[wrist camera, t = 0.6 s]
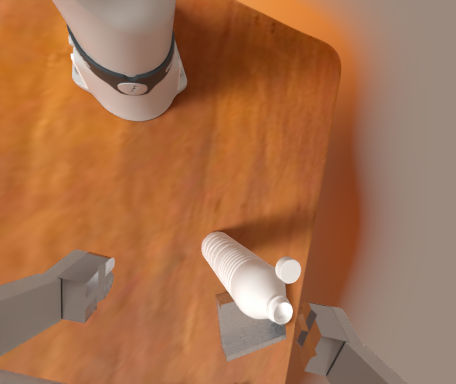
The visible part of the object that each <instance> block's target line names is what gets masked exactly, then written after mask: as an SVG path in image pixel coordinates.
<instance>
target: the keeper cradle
mask: <svg viewBox="0 0 456 384" xmlns="http://www.w3.org/2000/svg"><path fill="white" fill-rule="evenodd" d="M215 298H216V306H217V315H218V324H219V332H220V341H221V348H222V350H223V353H224V355H225V358H226V360H227V362H228V361H230V360H233V359H236V358H238V357H241V356H243V355H246V354H248V353H251V352H254V351H256V350H259V349H261V348H264V347H266V346H269V345H272V344H274V343H277V342H279V341H282V340H284V339H286V329H285V324H277V323H276V322H273V321H271V320H270V319H269V318H268V319H255V318H251V317H249V316H247V315H246V314H244V313H243V312H242V311H241V310H240V309H239V307H238V306H237V304H236V303H235V301H234V299H233V298H232V296H231V295H230V294H229V292H225V293H222V294H218V295H215Z"/></svg>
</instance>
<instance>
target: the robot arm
mask: <svg viewBox="0 0 456 384" xmlns="http://www.w3.org/2000/svg"><path fill="white" fill-rule="evenodd" d="M52 1H53V2H54V4H55V5H56V7H57V8H58V10H59V11H60V13H61V15H62V16H63V18H64V20H65V21H66V23H67V28H68V31H69V34H70V35H69V43H70V45H71V46H73V53H72V54H71V59H72V61H73V68H72V78H73V80H74V82H75V83H76V84H77V85H78V86H79V87H81V88H82V89H84V90H86V91H88V92H90V93H91V94H92V95H93V96H94V97H95V98H96V99H97V100H98V101H99V102H100V103H101V104H102V105H103V106H104V107H105V108H106V109H107V110H108V111H110V112H111V113H113V114H115V115H116V116H119V117H121V118H124V119H127V120H132V121H145V120H150V119H153V118H156V117H158V116H159V115H161V114H162V113H164V112H165V111H166V110H167V109H168V107H169V106H170V105H171V103H172V101H173V99H174V98H175V96H176V95H177V94H178V93H180V92H181V91H183V90H184V89H185V88H186V86H187V78H186V75H185V71H184V68H183V65H182V62H181V58H180V55H179V52H178V49H177V45H176V42H175V36H174V30H173V23H174V14H175V5H176V0H52ZM180 75H181V77H180ZM113 267H114V259H113V258H111V257H107V256H103V255H99V254H96V253H92V252H87V251H83V250H79V249H77V250H73V251H72V252H71V253H69V254H68V255H67V256H66V257H64V258H63V259H62V260H60V261H59V262H58V263H56V264H55V265H54V266H52V267H51V268H50V269H49V270H47V271H46V272H45V273H43V274H42V275H41V274H35V275H32V276H29V277H26V278H23V279H20V280H17V281H13V282H10V283H7V284H4V285H1V286H0V356H2V355H4V354H5V353H7V352H9V351H10V350H12V349H14V348H15V347H17V346H19V345H20V344H22V343H24V342H25V341H27V340H29V339H31V338H32V337H34V336H36V335H37V334H39V333H41V332H42V331H44V330H46V329H47V328H49V327H51V326H52V325H54V324H56V323H58V322H59V321H61V319H65V320H70V321H76V322H81V323H86V321H87V320H88V319H89V317H90V316H91V315H92V314H93V312H94V311H95V310H96V308H97V302H99V301H101V300H103V299H104V298H105V297H106V295H107V294H108V292H109V290H110V288H111V286H112V283H113V277H114V275H113V273H112V272H111V270H112V268H113ZM301 309H302V312H303V313H302V314H300V315H299V316H298V317H297V319H296V322H295V337H296V341H297V343H298V344H299V345H300V346H301V347H302V348H301V351H300V356H301V360H302V364H303V368H304V371H306V372H310V373H314V374H319V375H323V376H326V378H327V380H328V381H329V382H330V384H408V383H407V382H405V381H404V380H403V379H402V378H401V377H400V376H399V375H398V374H397V373H396V372H394V371H393V370H392V369H391V368H390V367H389V366H388V365H386V364H385V363H384V362H383V361H382V360H381V359H380V358H379V357H378V356H377V355H375V353H374V352H372V351H371V350H370V349H369V348H368V347H366V346H363V344H362V343H361V341H360V339H359V337H358V335H357V334H356V332H355V330H354V328H353V327H352V325H351V323H350V321H349V319H348V318H347V316H346V314H345V312H344V311H343V310H342V309H341V308H336V307H331V306H325V305H321V304H316V303H312V302H307V301H306V302H304V303H303V305H302V307H301ZM0 384H66V383H62V382H57V381H52V380H48V379H43V378H38V377H33V376H29V375H24V374H19V373H14V372H10V371H5V370H0Z"/></svg>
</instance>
